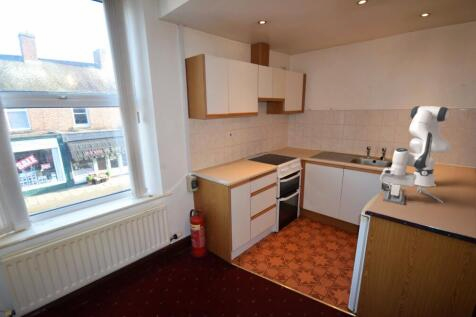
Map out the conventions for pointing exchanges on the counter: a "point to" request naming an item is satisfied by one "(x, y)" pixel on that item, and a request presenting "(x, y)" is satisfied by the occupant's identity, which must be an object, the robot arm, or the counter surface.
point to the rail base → (393, 198)
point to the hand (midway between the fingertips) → (395, 189)
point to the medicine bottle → (385, 186)
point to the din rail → (399, 198)
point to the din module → (395, 189)
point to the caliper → (428, 193)
